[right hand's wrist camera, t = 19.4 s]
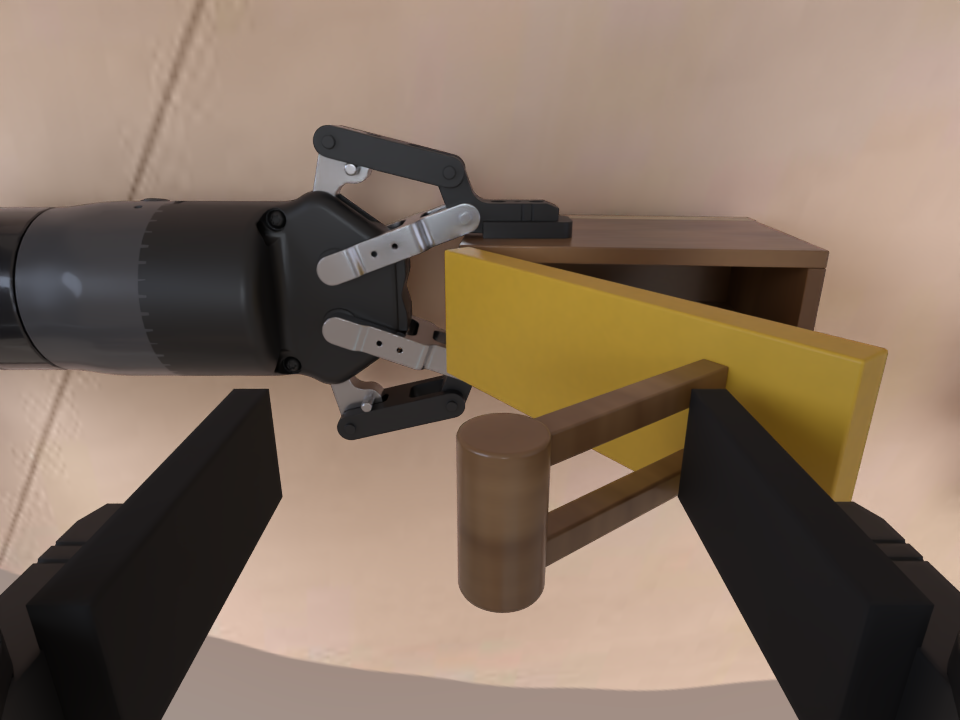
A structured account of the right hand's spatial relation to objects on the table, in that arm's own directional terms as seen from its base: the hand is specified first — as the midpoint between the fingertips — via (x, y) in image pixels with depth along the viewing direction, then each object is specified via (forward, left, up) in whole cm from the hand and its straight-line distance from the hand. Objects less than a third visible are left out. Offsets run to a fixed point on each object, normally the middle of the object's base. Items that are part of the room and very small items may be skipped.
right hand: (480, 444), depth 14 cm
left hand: (-4, -1, -14) cm, 15 cm away
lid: (-4, -1, -5) cm, 7 cm away
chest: (-7, -2, -20) cm, 21 cm away
